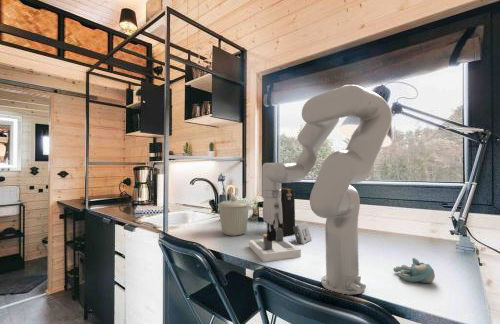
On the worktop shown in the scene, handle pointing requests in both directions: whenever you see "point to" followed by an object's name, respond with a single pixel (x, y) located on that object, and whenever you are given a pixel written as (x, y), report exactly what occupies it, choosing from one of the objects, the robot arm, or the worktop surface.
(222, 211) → the canister
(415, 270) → the stuffed animal
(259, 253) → the white slotted tray
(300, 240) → the electrical switch
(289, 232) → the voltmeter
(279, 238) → the block
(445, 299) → the worktop surface
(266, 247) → the block
